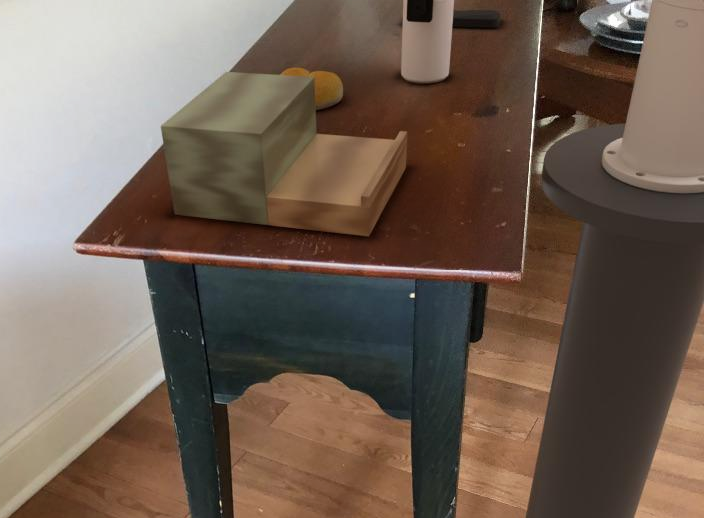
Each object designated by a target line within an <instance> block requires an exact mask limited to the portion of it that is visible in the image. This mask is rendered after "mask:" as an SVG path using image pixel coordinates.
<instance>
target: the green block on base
mask: <svg viewBox="0 0 704 518" xmlns="http://www.w3.org/2000/svg"><path fill="white" fill-rule="evenodd" d="M316 111H317V110H316V108H315V79H314V77H306V76H289V75H280V74H270V73H269V74H268V73H255V72H254V73H252V72H235V71H225V72H224V73H222V75H221V76H218V78H217V79H215V80H214V81H213V82H212V83H210V85H208V86H207V87H206V88H205V89H203V90H202V91H201V92H200V93H198V95H196V96H195V97H193V98H192V99H191V100H190V101H188V102H187V103H186V104H185V105H184V106H183V107H181V108H180V109H179V110H178V111H176V113H174V114H173V115H172V116H170V118H168V119H167V120H166V121H165V122H163V123H162V124H161V125H160V131H161V138H162V144H163V150H164V156H165V163H166V168H167V174H168V181H169V182H168V183H169V187H170V194H171V200H172V206H173V212H174V215H175V216H184V217H190V218H199V219H210V220H219V221H226V222H227V221H228V222H237V223H245V224H254V225H262V226H272V227H278V228H279V227H280V228H290V229H298V230H307V231H316V232H325V233H333V234H342V235H351V236H352V235H353V236H360V237H370V235H371V234H372V232H373V229H374V228H375V226H376V224H377V222H378V220H379V219H380V216H381V215H382V213H383V211H384V209H385V207H386V205H387V204H388V202H389V200H390V198H391V196H392V195H393V192H394V191H395V189H396V187H397V185H398V184H399V181H400V180H401V178H402V176H403V174H404V172H405V170H406V168H407V152H408V151H407V149H408V131H406V130H405V131H404V130H399V132H398V133H397V135H396V137H395V138H394V139H388V138H378V137H377V138H376V137H364V136H362V137H361V136H352V135H351V136H350V135H336V134H326V133H325V134H323V133H317V112H316Z"/></svg>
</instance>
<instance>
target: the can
mask: <svg viewBox="0 0 704 518" xmlns="http://www.w3.org/2000/svg"><path fill="white" fill-rule="evenodd" d="M402 5H403V6H402V32H401V63H400V64H401V65H400V74H401V77H402V78H403V79H404V80H405V81H406V82H409V83H413V84H420V85H428V84H429V85H430V84H437V83H440V82H443V81H445V80H446V79H447V77H448V76H449V74H450V65H451V64H450V63H451V51H452V37H453V27H452V23H453V10H454V8H455V0H434V2H433V18H432V21H431V22H429V23H427V22H409V21H407V0H403V3H402Z"/></svg>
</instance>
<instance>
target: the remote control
mask: <svg viewBox="0 0 704 518" xmlns="http://www.w3.org/2000/svg"><path fill="white" fill-rule="evenodd" d="M500 24H501V13H500V11H497V10H495V9H494V10H493V9H467V10H454V9H453V23H452V28H487V29H493V28H499V26H500Z"/></svg>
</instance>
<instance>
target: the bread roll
mask: <svg viewBox="0 0 704 518" xmlns="http://www.w3.org/2000/svg"><path fill="white" fill-rule="evenodd" d="M279 75H289V76H306V77H314V79H315V108H316V111H320V110H324V109H327V108H330V107H332V106H335V105H336V104H338V103H339V102H340V101H342V99H343V96H344V85H343V82H342V79H341V78H340V77H339V76H338V75H337V74H336V73H334V72H332V71H326V70H315V71H312V72H310V71H309V70H307V69H305V68H303V67H296V66H295V67H291V68H290V67H289V68H287V69H285V70H284V71H282V72H281V73H280V74H279Z"/></svg>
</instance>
